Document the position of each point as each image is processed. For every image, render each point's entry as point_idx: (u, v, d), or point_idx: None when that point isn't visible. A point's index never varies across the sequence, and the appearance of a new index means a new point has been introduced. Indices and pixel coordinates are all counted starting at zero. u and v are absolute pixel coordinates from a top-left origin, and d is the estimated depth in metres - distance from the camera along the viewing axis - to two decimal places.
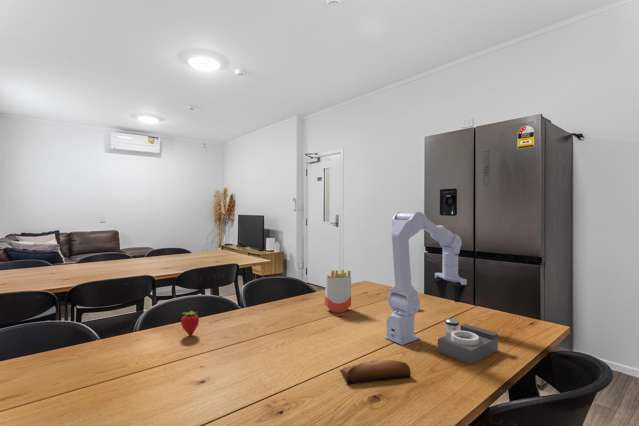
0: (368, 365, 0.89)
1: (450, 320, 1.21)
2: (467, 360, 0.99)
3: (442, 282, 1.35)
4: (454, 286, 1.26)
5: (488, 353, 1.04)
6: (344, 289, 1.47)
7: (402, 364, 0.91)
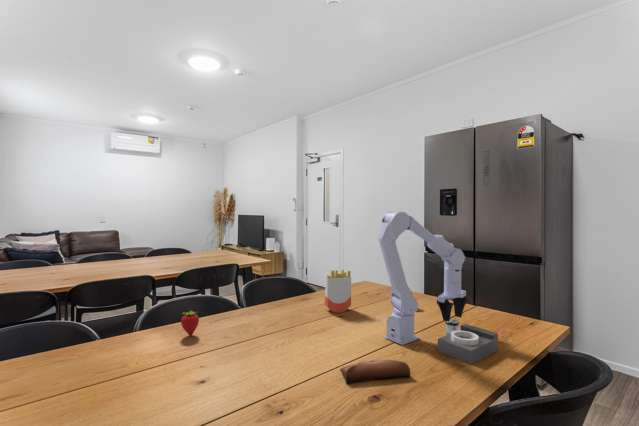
0: (367, 364, 0.90)
1: (450, 320, 1.21)
2: (467, 360, 0.99)
3: (457, 300, 1.23)
4: None
5: (488, 353, 1.04)
6: (344, 289, 1.47)
7: (402, 364, 0.91)
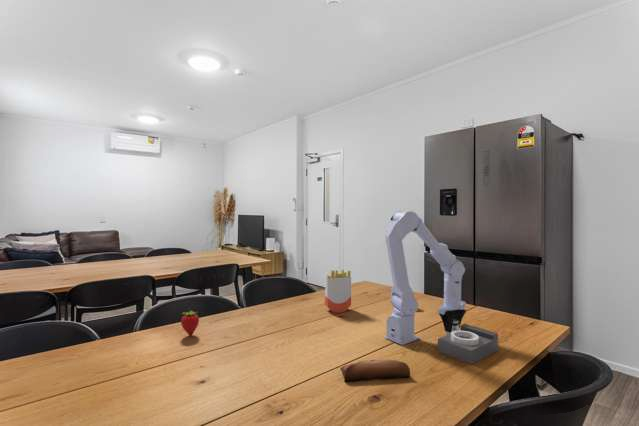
0: (367, 364, 0.90)
1: None
2: (467, 360, 0.99)
3: (455, 312, 1.23)
4: None
5: (488, 353, 1.04)
6: (344, 289, 1.47)
7: (401, 364, 0.91)
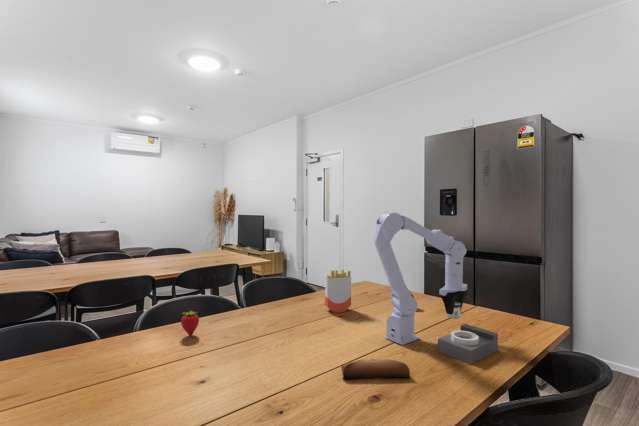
0: (366, 362, 0.91)
1: None
2: (467, 360, 0.99)
3: (456, 294, 1.21)
4: None
5: (488, 353, 1.04)
6: (344, 289, 1.47)
7: (401, 364, 0.90)
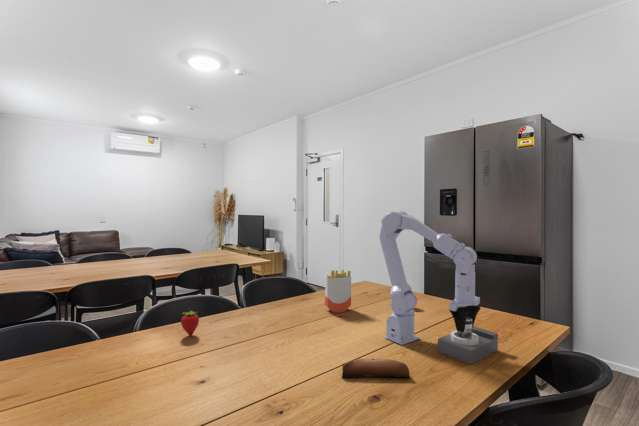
0: (366, 362, 0.91)
1: None
2: (467, 360, 0.99)
3: (468, 309, 1.07)
4: None
5: (488, 353, 1.04)
6: (344, 289, 1.47)
7: (401, 364, 0.90)
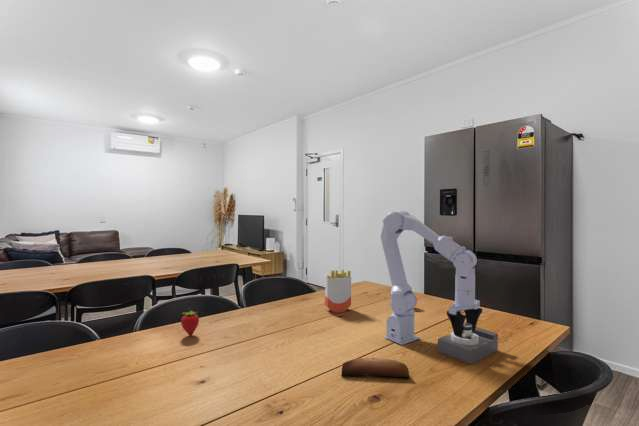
0: (365, 361, 0.92)
1: None
2: (467, 360, 0.99)
3: (470, 311, 1.08)
4: None
5: (488, 353, 1.04)
6: (344, 289, 1.47)
7: (401, 365, 0.90)
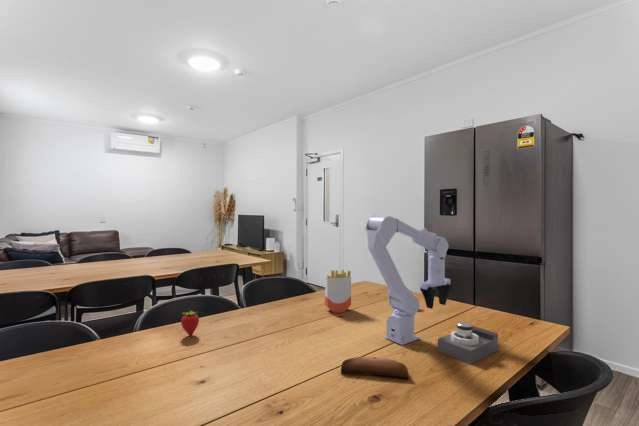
0: (365, 360, 0.93)
1: (462, 323, 1.06)
2: (467, 360, 0.99)
3: (441, 288, 1.26)
4: None
5: (488, 353, 1.04)
6: (344, 289, 1.47)
7: (400, 365, 0.90)
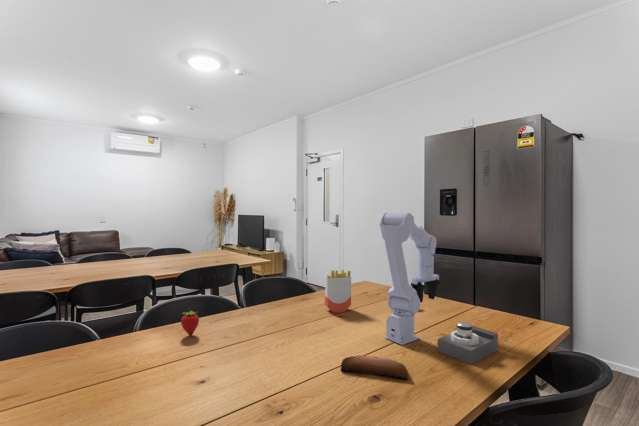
0: (365, 358, 0.93)
1: (462, 323, 1.06)
2: (467, 360, 0.99)
3: (430, 283, 1.34)
4: None
5: (488, 353, 1.04)
6: (344, 289, 1.47)
7: (399, 365, 0.90)
